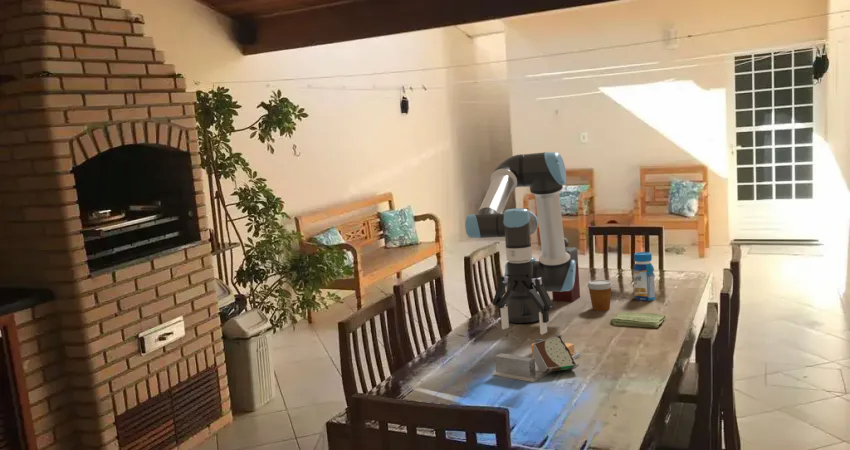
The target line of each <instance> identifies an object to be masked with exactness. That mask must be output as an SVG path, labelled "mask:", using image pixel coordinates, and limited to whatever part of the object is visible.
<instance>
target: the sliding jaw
mask: <svg viewBox="0 0 850 450" xmlns="http://www.w3.org/2000/svg"><path fill="white" fill-rule="evenodd" d="M543 340H544V338H543V339H542V338H541V339H540V338H535V340H534V343H537V342H540V341H543ZM534 343H531V345H530V346H531V353H532V354H533V345H534ZM563 343H564V344H565V345H566V346H567V348H568V349H569V351H570V354H571V355H572V354H574V353H575V352H576V351H575V344H574V343H569V342H565V341H563Z"/></svg>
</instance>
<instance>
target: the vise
mask: <svg viewBox="0 0 850 450" xmlns="http://www.w3.org/2000/svg"><path fill="white" fill-rule="evenodd" d="M574 352H575V353H574V354H572V355H571V356H572V358H573V360H574V361H575V360H576V359H577V358H579V357H581V355H582V354H581V353H582V352H579V351H574ZM494 363H495V364H494V365H495V370H493V373H492V374H493V376H498V377H503V378H509V379H515V380H521V381H527V382H531V383H535V382H536V381H538V380H540V379H542V378H544V377H546V376H547V375H549V374H551V373H552V372H553V371H549V372H542V371H541V370H539V368H538V367H537V365H536V362H535V358H534V355H533V354H532V352H530V353H528V354H526V355H524V356H522V355H521V356H520V355H515V354H507V353H501V352H500V353H498V354H496V355H494Z"/></svg>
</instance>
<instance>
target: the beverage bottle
mask: <svg viewBox="0 0 850 450" xmlns="http://www.w3.org/2000/svg"><path fill="white" fill-rule="evenodd" d="M652 256H653V255H652V253H651V252H649V251H641V252H635V253H634V254H633V258H634V263H635V264H634V266H633V268H632V271H633V274H632V279H633V287H634V288H633V289H634V300H637V301H640V302H641V301H643V302H649V301H654V300H656V294H655V293H656V292H655V291H656V290H655V278H656V277H655V273H654V271H655V268H654V265H653V264H652V260H653V257H652Z"/></svg>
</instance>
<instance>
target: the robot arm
mask: <svg viewBox="0 0 850 450" xmlns="http://www.w3.org/2000/svg"><path fill="white" fill-rule="evenodd" d="M489 181H490V182H489V183H490V184H489V187H488V189H487V191H486V194H485V196H484V197H483V201H482V203H481V205H480V206H479V209H478V211H477V213H473V214H469V215H467V216H466V218H465V224H464V226H465V227H464V228H465V232H466V233H465V234H466V235H467V237H468V238H471V239H486V238H504V239H505V240H504V241H505V254H506V256H505V257H506V261H507V262H506V263H505V265H504V275H501V276H499V278H498V279H499V280H498V286H497V289H496V292H495V294H494V298H493V300H492V303H491V304H492V305H493V306H495V307H497V309H498V316H499V317H498V318H500V322H501V329H502V330H505V329H509V327H510V325H509V323H515V324H516V323H517V324H518V323H519V324H522V323H525V324H527V323H533V322H534V323H535V322H539V333H540V335H544V334H546V333H548V323H549V320H550V319H549V318H550V316H549V311H552V310H554V309H555V305H554V304H553V303H554V302H553V300H552V299H551V297H550V295H549V293H548V292H552V291H560V292H562V291H570V290H572V289H573V286H574V281H575V272H576V263H575V260H571V258H570V255H569V254H568V253H567V252H566V251H565V242H564V238H565V235H564V226H563V225H564V224H563V218H562V217H563V216H562V206H561V199H560V192H561V191H563V188H564V187H563V186H564V185H566V183H567V169H566V166H565V161H564V159H563V157H562V155H561V154H560V153H559V152H553V151H552V152H551V151H550V152H549V151H545V152H536V153H525V154H523V153H522V154H515V155H512V156H510V157H508V158H506V159H504V160H503V161H501V163H499V164H498V165H497V166H496V167H495V169H494V170H493V171H492V173H491V176H490V180H489ZM521 187H522V188H525V187H529V192H530V193H531V194H532V195H533V196H534V198H535V205H536V213H537V215H536V214H535V213H534V212H533V211H530V210H528V209H527V208H525V207H524V208H522V207H521V208H510V209H506V210H505V208H506V205H507V202H508V200H509V197H510V196H511V193H512V192H513V191H514V190H516V188H521ZM537 229H539V231H538V232H539V237H540V246H541V253H542V254H541V255H540V256H539V258H538V260H536V258H535V257H534V256H533V251H532V243H531V242H532V240H531V235H532V234H535V232H536V230H537ZM505 290H506V292H505ZM504 292H505V293H504Z"/></svg>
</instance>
